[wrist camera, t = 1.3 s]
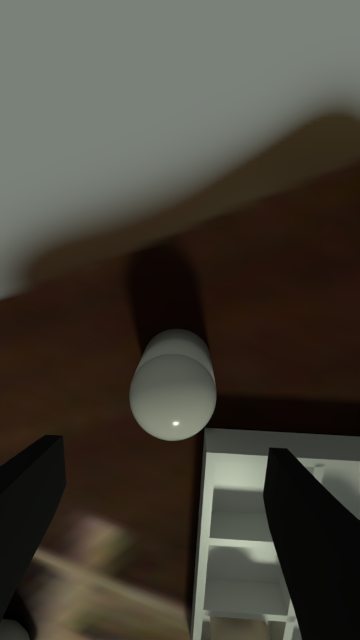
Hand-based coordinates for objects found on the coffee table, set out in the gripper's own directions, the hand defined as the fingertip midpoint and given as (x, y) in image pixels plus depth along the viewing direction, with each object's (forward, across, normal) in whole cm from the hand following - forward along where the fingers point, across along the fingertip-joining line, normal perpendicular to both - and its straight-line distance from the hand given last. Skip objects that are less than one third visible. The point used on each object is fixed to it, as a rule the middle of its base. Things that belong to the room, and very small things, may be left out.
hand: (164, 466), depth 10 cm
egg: (+10, 0, 0) cm, 10 cm away
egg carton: (+9, -9, +15) cm, 20 cm away
